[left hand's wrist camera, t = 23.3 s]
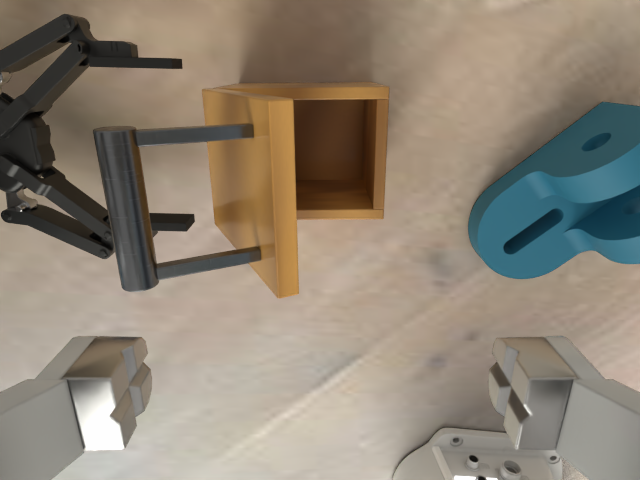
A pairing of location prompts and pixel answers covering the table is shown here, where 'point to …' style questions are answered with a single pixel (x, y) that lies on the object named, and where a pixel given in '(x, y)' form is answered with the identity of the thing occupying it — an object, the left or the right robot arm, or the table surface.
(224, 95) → the lid
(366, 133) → the chest
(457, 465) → the left robot arm
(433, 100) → the table surface
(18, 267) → the table surface
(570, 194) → the blue clevis bracket
